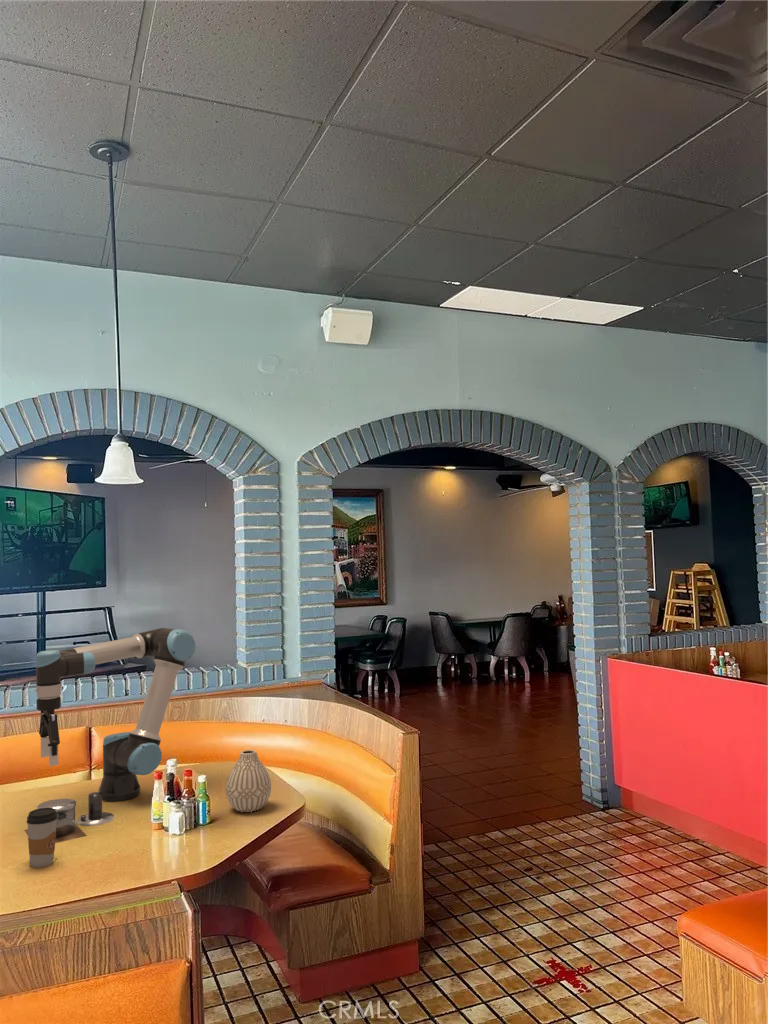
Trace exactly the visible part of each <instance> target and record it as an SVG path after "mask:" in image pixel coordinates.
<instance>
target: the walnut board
mask: <svg viewBox="0 0 768 1024" xmlns="http://www.w3.org/2000/svg"><path fill="white" fill-rule="evenodd" d="M23 831H24V833H26V835H27V836H28V828H27V829H23ZM87 836H88V834H87V833H85V832H84V831H83V830H82V828H80V827H79V825H78V824H77V823H75V831H74V832H73V833H72V834H70V835H67V836H64V837H60V838H56V839H55V844H56V843H61V842H65V841H71V840H74V839H75V840H76V839H80V838H85V837H87Z"/></svg>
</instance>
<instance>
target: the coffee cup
mask: <svg viewBox="0 0 768 1024" xmlns="http://www.w3.org/2000/svg"><path fill="white" fill-rule="evenodd" d="M56 821H57V813H56V810H55V809H54V808H40V809H37V808H36V809H33V810H31V811H29V812H28V816H27V818H26V824H27V829H28V835H27V840H28V842H27V843H28V854H29V864H30V866H31V867H32V868H33V869H34V868H36V869H37V868H39V869H40V868H45V867H48V866H50V865H52V864H53V863H54V862H53V861H54V858H55V849H56V843H55V839H56Z"/></svg>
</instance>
